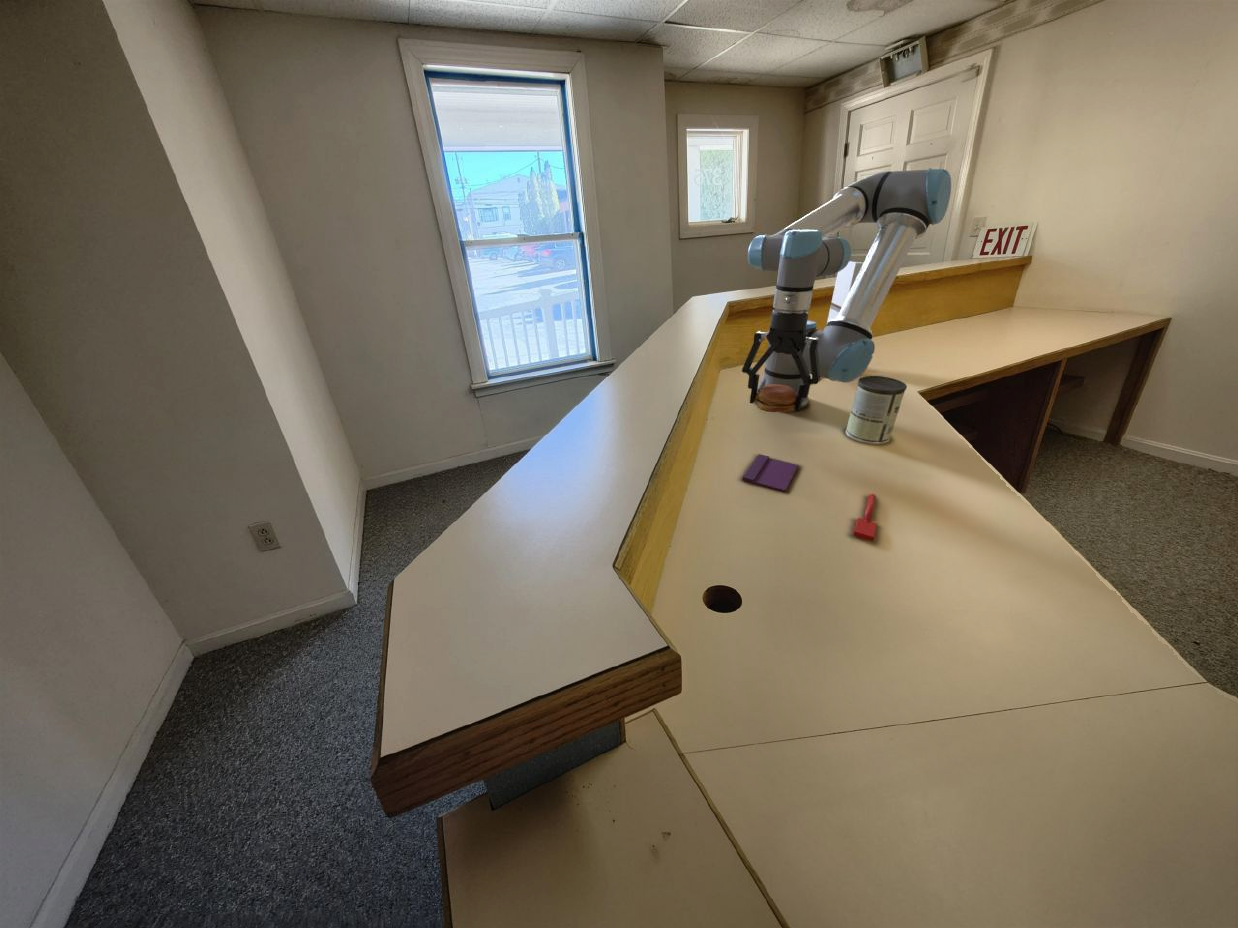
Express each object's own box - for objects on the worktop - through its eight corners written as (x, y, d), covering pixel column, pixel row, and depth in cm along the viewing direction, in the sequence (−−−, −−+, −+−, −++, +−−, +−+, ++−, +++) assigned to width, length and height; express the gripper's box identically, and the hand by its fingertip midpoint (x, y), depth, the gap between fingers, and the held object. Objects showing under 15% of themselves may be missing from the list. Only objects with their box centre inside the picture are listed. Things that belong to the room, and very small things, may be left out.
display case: (861, 370, 160) (889, 262, 142) (830, 370, 160) (855, 263, 143) (847, 360, 170) (872, 259, 152) (818, 361, 170) (840, 259, 152)
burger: (804, 410, 107) (808, 392, 104) (771, 416, 104) (774, 397, 102) (778, 396, 115) (781, 378, 112) (747, 401, 112) (749, 383, 110)
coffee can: (845, 424, 121) (858, 373, 114) (888, 431, 117) (905, 378, 110) (844, 440, 113) (858, 386, 106) (890, 447, 109) (908, 392, 102)
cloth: (758, 456, 106) (758, 453, 106) (798, 466, 102) (798, 463, 102) (742, 480, 97) (742, 477, 97) (784, 491, 93) (785, 488, 93)
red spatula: (863, 495, 92) (864, 490, 91) (880, 499, 90) (882, 494, 90) (853, 535, 80) (854, 530, 80) (873, 541, 79) (874, 536, 78)
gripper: (734, 308, 100) (724, 402, 111) (844, 318, 90) (821, 420, 101) (744, 302, 106) (734, 392, 117) (849, 311, 95) (827, 409, 107)
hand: (774, 405), depth 109 cm, fingers closed on burger, 10 cm apart
